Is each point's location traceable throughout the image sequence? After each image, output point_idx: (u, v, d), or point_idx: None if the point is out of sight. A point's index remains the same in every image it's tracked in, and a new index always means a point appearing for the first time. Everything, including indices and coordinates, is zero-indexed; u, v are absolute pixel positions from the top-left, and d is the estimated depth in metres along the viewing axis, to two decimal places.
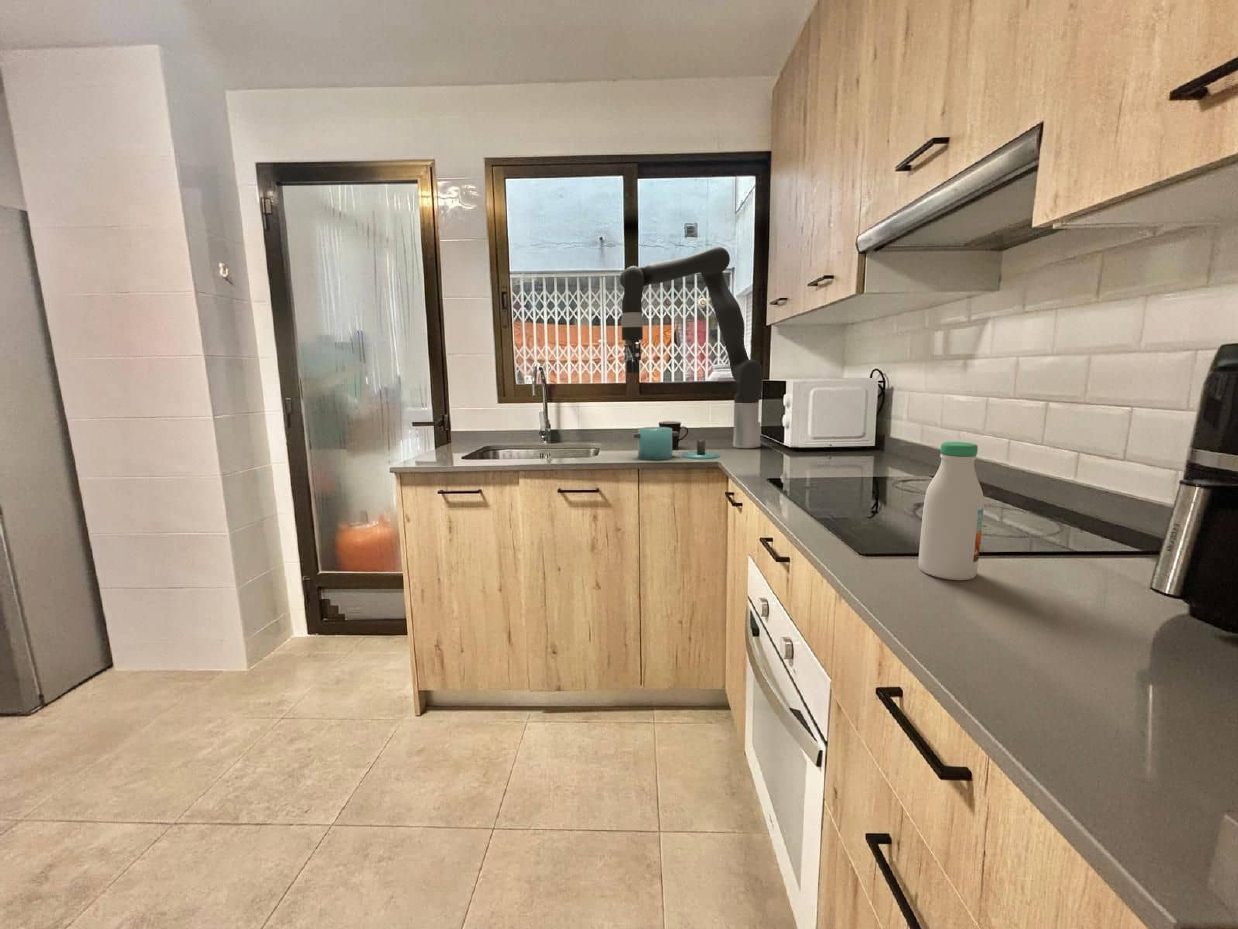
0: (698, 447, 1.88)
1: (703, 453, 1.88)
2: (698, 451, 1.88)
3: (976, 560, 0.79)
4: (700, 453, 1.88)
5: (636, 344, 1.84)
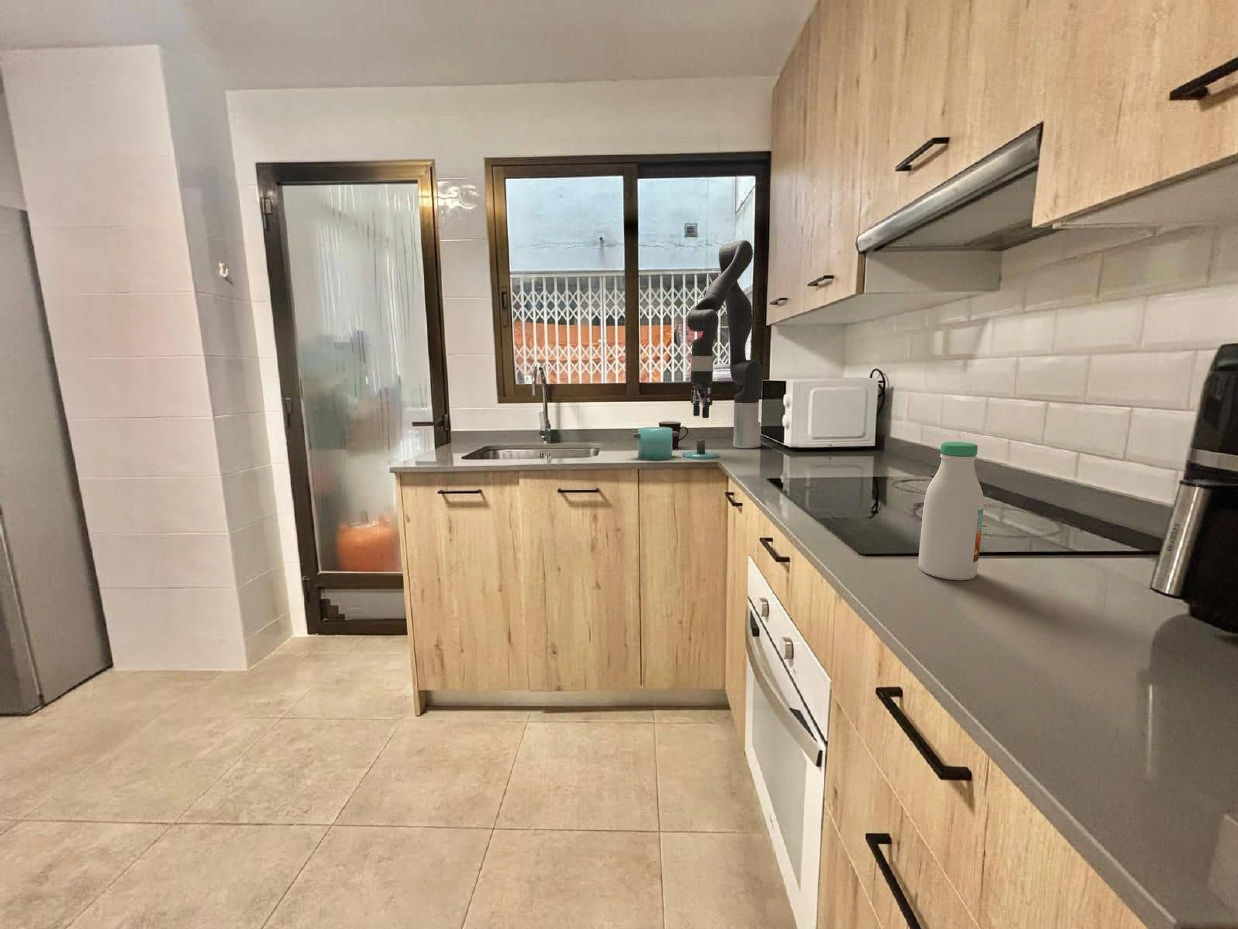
0: (698, 446, 1.88)
1: (703, 452, 1.88)
2: (698, 451, 1.88)
3: (976, 560, 0.79)
4: (700, 452, 1.88)
5: (708, 389, 1.79)
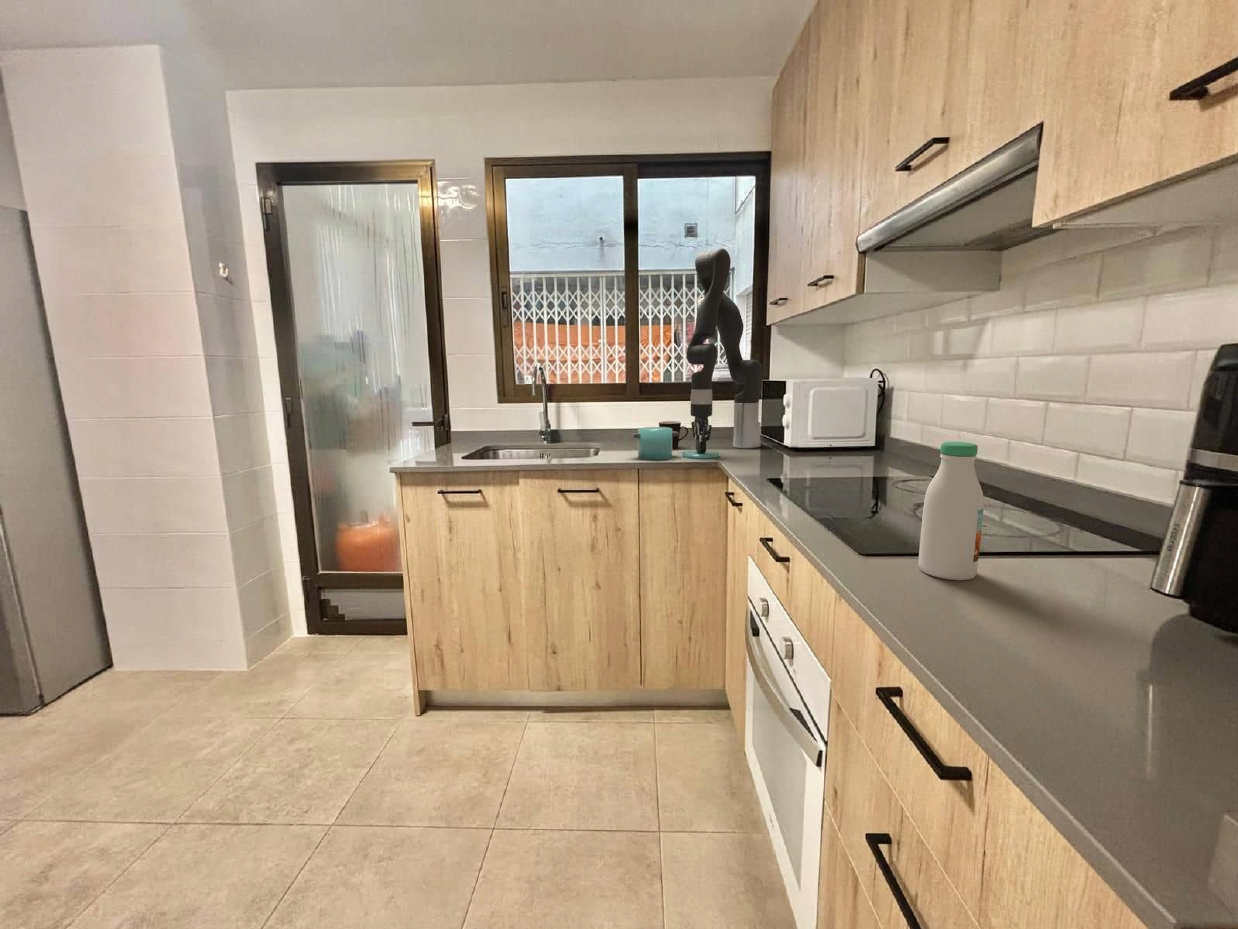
0: (698, 446, 1.88)
1: (703, 452, 1.88)
2: (698, 450, 1.88)
3: (976, 560, 0.79)
4: (700, 452, 1.88)
5: (707, 428, 1.81)
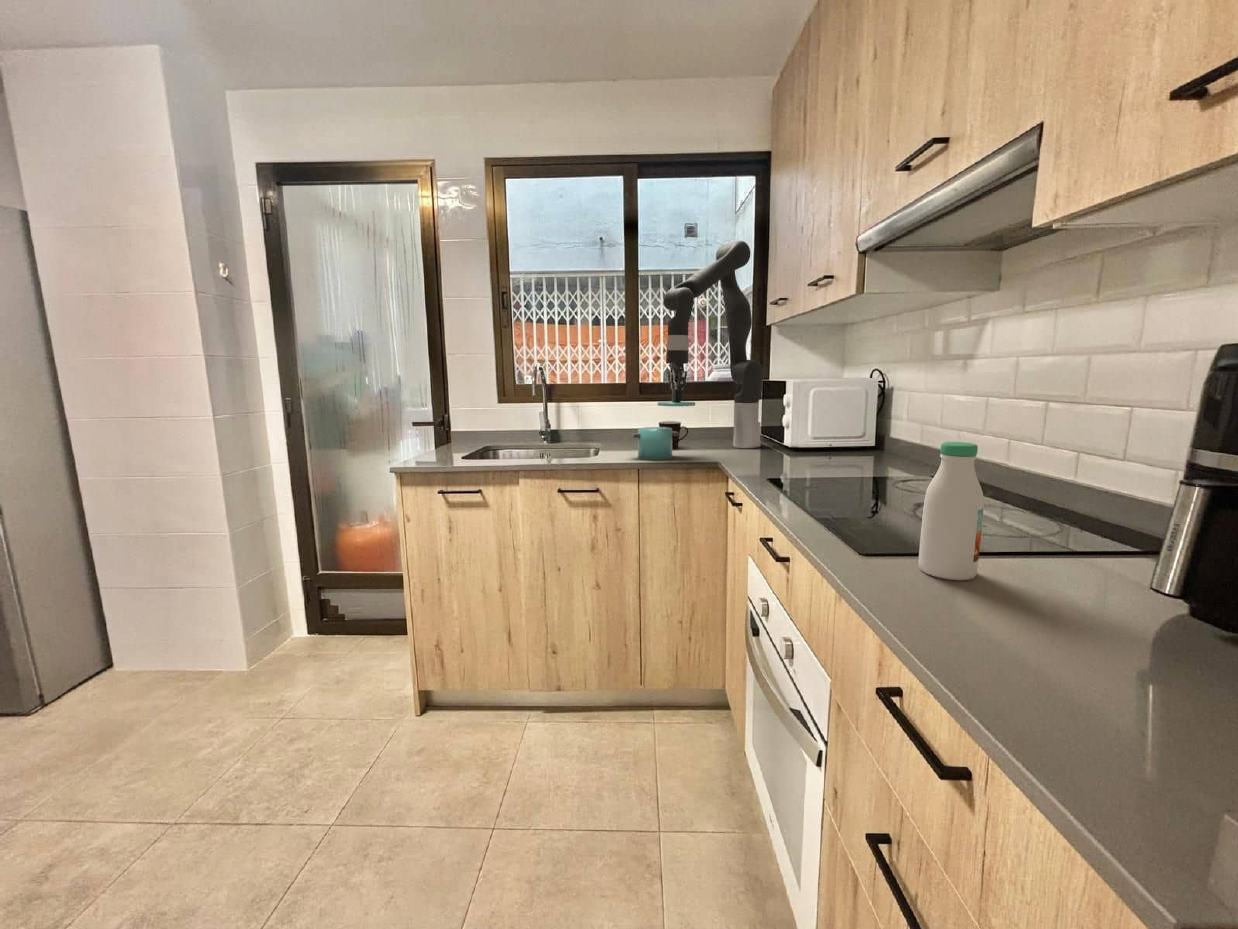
0: (674, 394, 1.84)
1: (679, 401, 1.84)
2: (674, 399, 1.84)
3: (976, 560, 0.79)
4: (676, 401, 1.84)
5: (682, 374, 1.77)
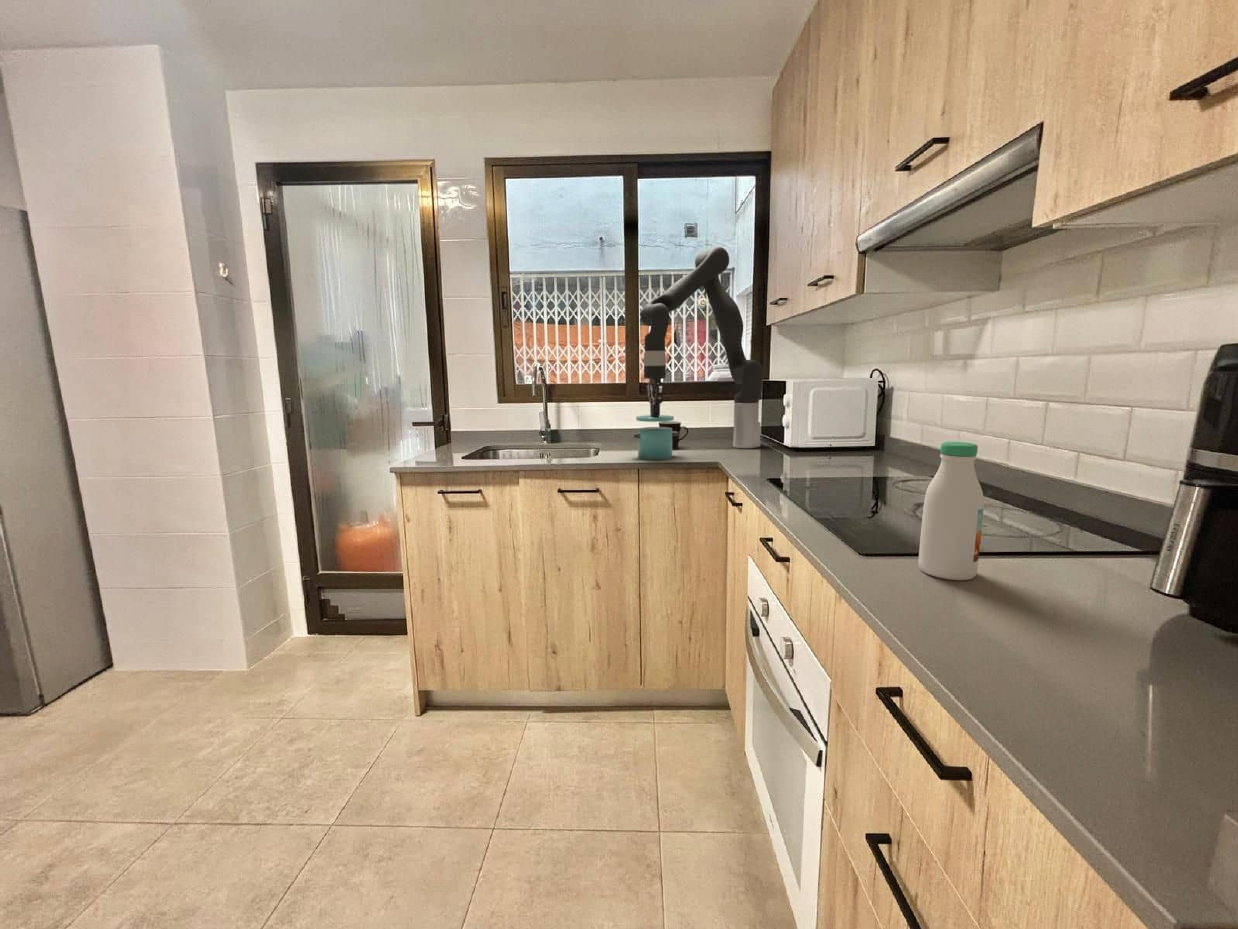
0: (652, 409, 1.85)
1: None
2: (652, 413, 1.85)
3: (976, 560, 0.79)
4: None
5: (659, 389, 1.78)
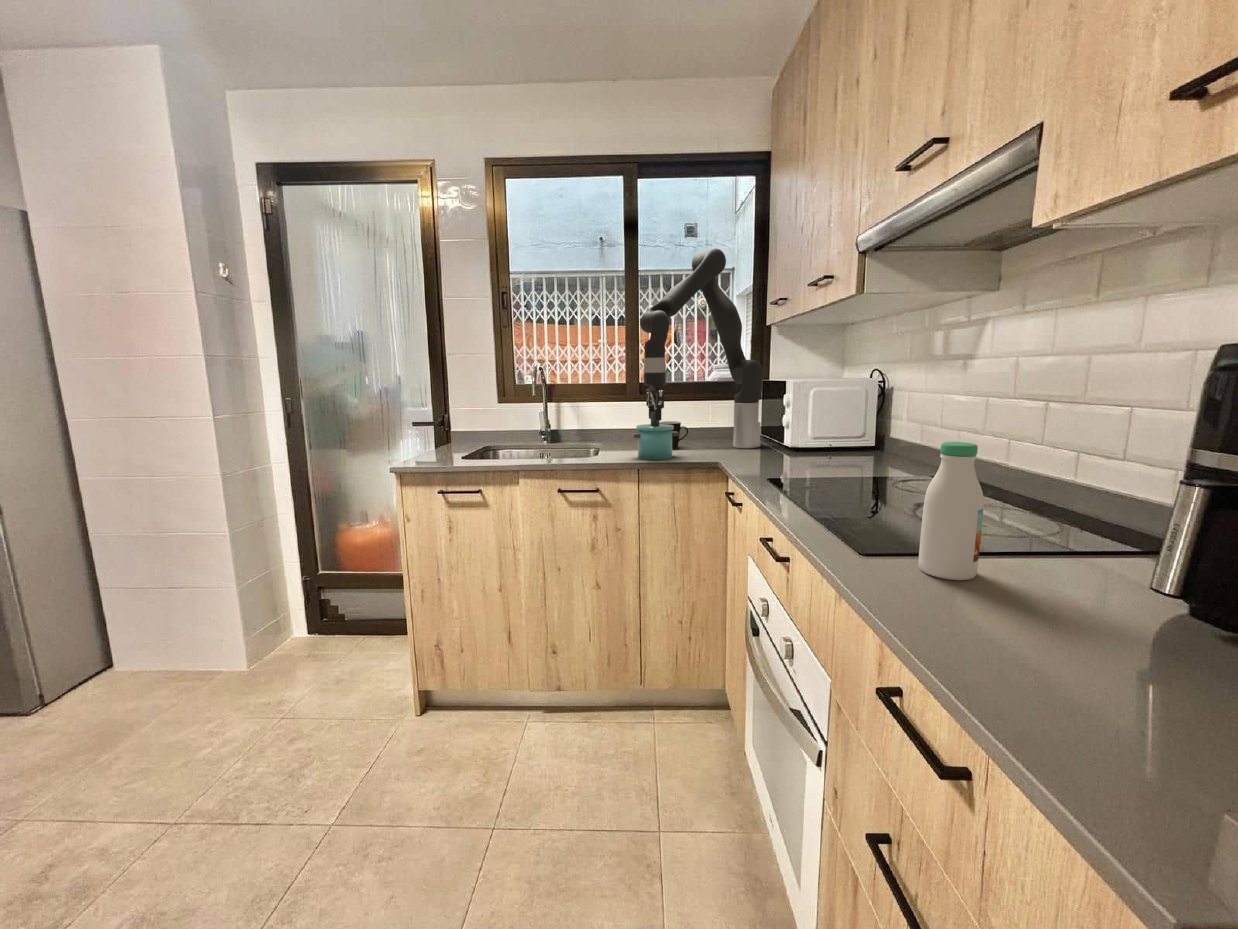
0: (652, 419, 1.85)
1: (657, 425, 1.86)
2: (652, 423, 1.86)
3: (976, 560, 0.79)
4: (654, 425, 1.85)
5: (659, 392, 1.78)
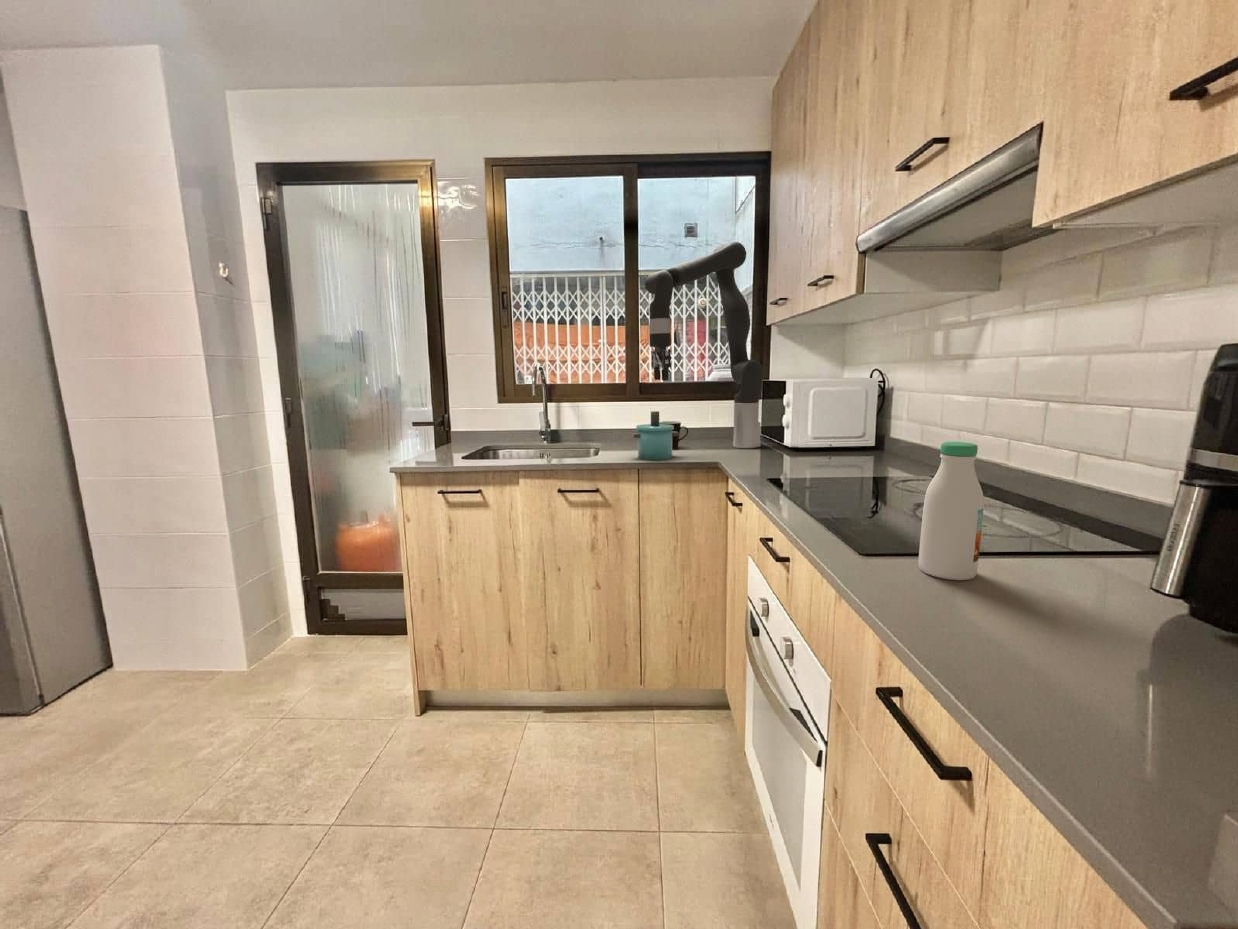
0: (652, 419, 1.85)
1: (657, 425, 1.86)
2: (652, 423, 1.86)
3: (976, 560, 0.79)
4: (654, 425, 1.85)
5: (666, 351, 1.79)
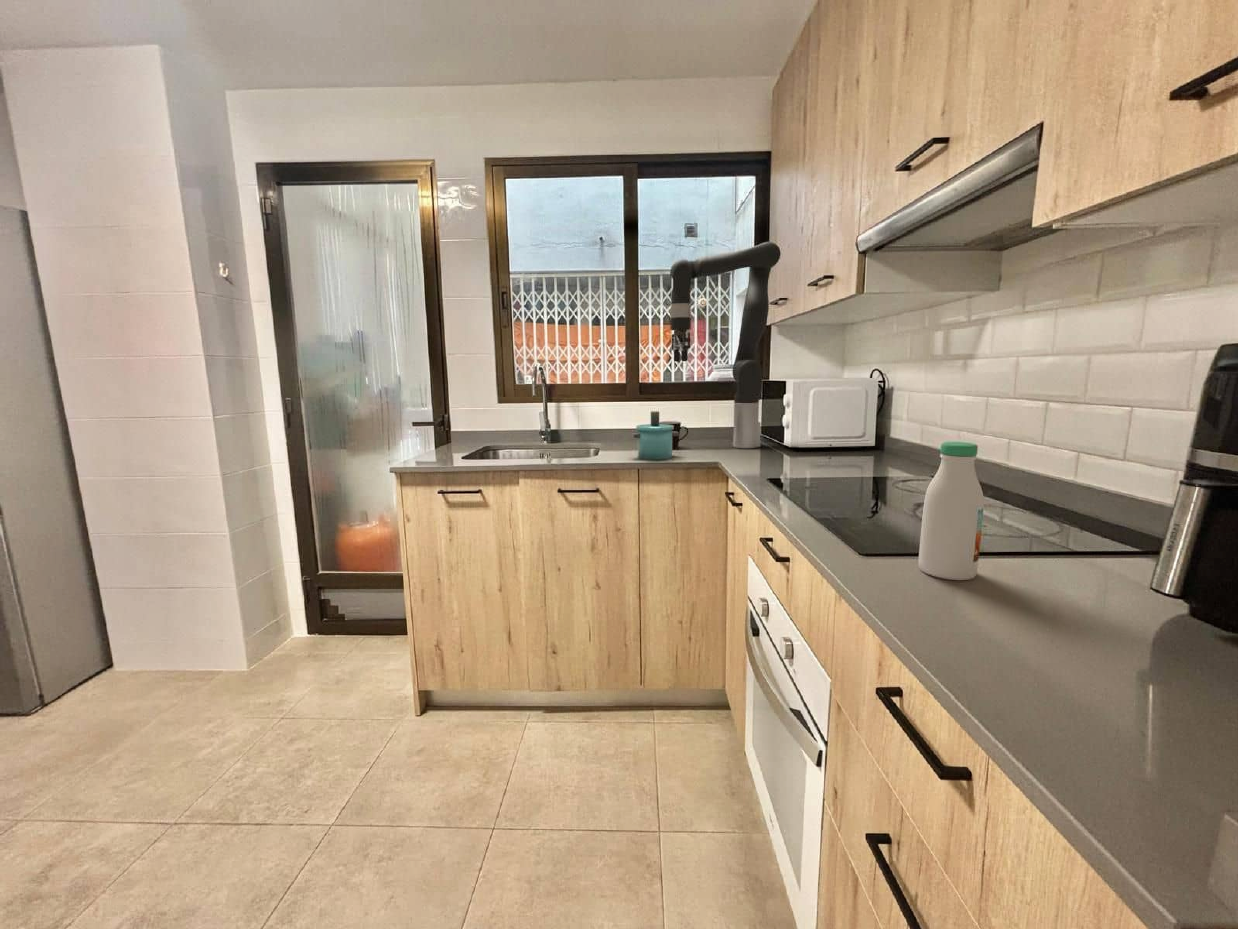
0: (652, 418, 1.85)
1: (657, 425, 1.86)
2: (652, 423, 1.86)
3: (976, 560, 0.79)
4: (654, 425, 1.85)
5: (686, 333, 1.93)
